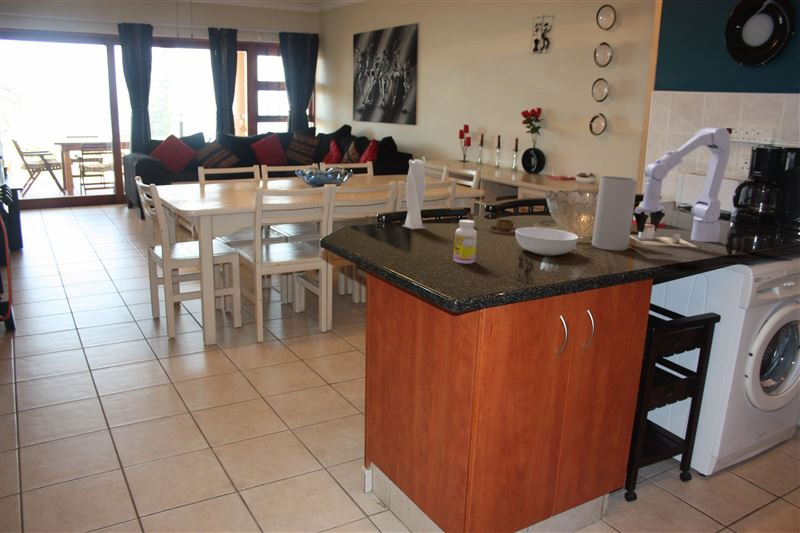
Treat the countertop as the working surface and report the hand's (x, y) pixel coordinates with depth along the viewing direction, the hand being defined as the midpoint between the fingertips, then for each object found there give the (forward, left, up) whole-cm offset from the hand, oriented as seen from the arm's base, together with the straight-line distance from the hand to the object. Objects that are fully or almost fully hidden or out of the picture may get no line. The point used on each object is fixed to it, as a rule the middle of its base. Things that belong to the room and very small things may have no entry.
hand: (646, 231), depth 243 cm
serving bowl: (+45, +25, -5) cm, 52 cm away
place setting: (+55, -12, -5) cm, 56 cm away
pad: (0, 0, -3) cm, 3 cm away
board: (-5, +3, -4) cm, 7 cm away
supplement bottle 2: (+3, -16, -5) cm, 17 cm away
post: (-9, +6, -3) cm, 11 cm away
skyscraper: (+88, -9, -5) cm, 89 cm away
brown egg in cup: (0, 0, -2) cm, 3 cm away
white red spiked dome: (-19, -43, -5) cm, 47 cm away
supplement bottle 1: (+75, +43, -5) cm, 87 cm away
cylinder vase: (+18, +12, -5) cm, 22 cm away
